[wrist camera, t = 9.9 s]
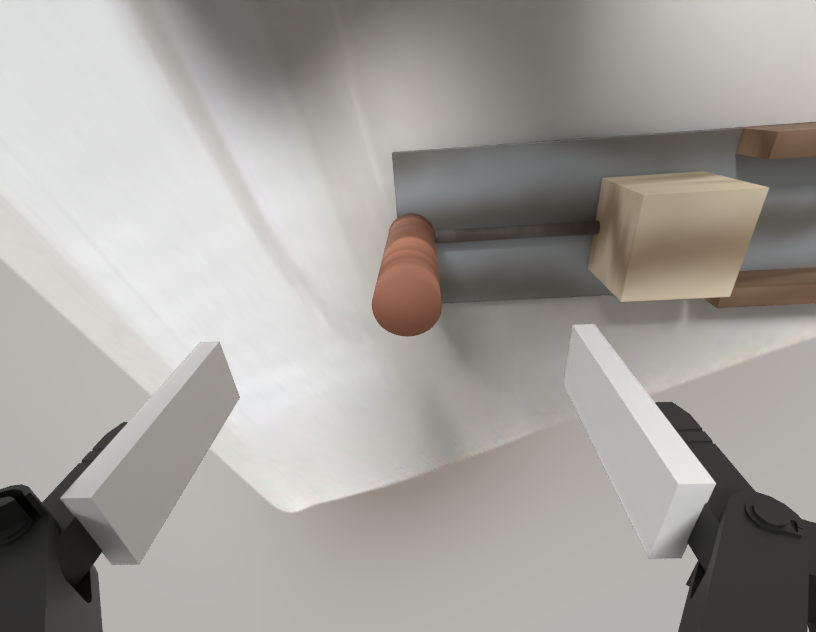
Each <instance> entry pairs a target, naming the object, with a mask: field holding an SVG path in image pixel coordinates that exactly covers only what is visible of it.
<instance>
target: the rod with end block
mask: <svg viewBox="0 0 816 632" xmlns="http://www.w3.org/2000/svg"><path fill="white" fill-rule="evenodd" d="M768 190H769V187H766V186H761V185H757V184H753V183H749V182H745V181H741V180H737V179H733V178H729V177H725V176H721V175H717V174H713V173H709V172H705V171H698V172H683V173H668V174H653V175H637V176H622V177H607V178H602V183H601V189H600V196H599V202H598V208H597V214H596V220H595V221H584V222H567V223H550V224H533V225H516V226H499V227H482V228H465V229H448V230H436V231H434V229H433V226H432V224H431V223H430V222H429V221H428V220H427V219H426V218H425V217H423V216H421V215H419V214H414V213H409V214H404V215H402V216H400V217H398V218H397V219H396V220H395V221H394V222H393V224H392V225H391V227H390V231H389V235H388V239H387V243H386V247H385V251H384V255H383V259H382V263H381V267H380V271H379V275H378V279H377V283H376V287H375V291H374V295H373V299H372V310H373V314H374V316H375V318H376V320H377V322H378V323H379V324H380V325H381V326H382V327H383V328H384V329H386V330H387V331H389V332H391V333H393V334H396V335H400V336H415V335H419V334H422V333H424V332H426V331H428V330H429V329H430V328H432V327H433V326H434V325H435V323H436V322H437V321H438V319H439V317H440V314H441V309H442V303H441V293H440V283H439V273H438V263H437V253H436V243H453V242H471V241H488V240H506V239H523V238H541V237H558V236H576V235H593V239H592V245H591V251H590V258H589V264H588V269H589V270H590V271H591V272H592V273H593V274H594V275H595V276H596V277H597V278H598V279H599V280H600V281H601V282H602V283H603V284H604V285H605V286H606V287H607V288H608V289H609V290H610V291H611V292H612V293H613V294H614V295H615V296H616V297H617V298H618V299H619V300H620V301H621V302H629V301H650V300H671V299H693V298H714V297H730V295H731V293H732V290H733V287H734V284H735V281H736V279H737V276H738V273H739V270H740V268H741V265H742V262H743V259H744V257H745V254H746V251H747V248H748V245H749V243H750V240H751V237H752V234H753V232H754V229H755V226H756V223H757V220H758V218H759V215H760V212H761V209H762V207H763V204H764V201H765V198H766V196H767V193H768Z"/></svg>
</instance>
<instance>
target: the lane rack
mask: <svg viewBox="0 0 816 632" xmlns="http://www.w3.org/2000/svg"><path fill="white" fill-rule="evenodd" d="M392 159H393V171H394V183H395V195H396V207H397V218H398V217H400V216H402V215H404V214H409V213H414V214H419V215H421V216H423V217H425V218H426V219H427V220H428V221H429V222H430V223H431V224H432V226H433V229H434V231H436V230H448V229H465V228H482V227H499V226H516V225H533V224H550V223H567V222H584V221H595V220H596V214H597V208H598V202H599V196H600V189H601V183H602V178H607V177H622V176H637V175H653V174H668V173H683V172H698V171H705V172H709V173H713V174H717V175H721V176H725V177H729V178H733V179H737V180H741V181H745V182H749V183H753V184H757V185H761V186H766V187H769V190H768V193H767V196H766V198H765V201H764V204H763V207H762V209H761V212H760V215H759V218H758V220H757V223H756V226H755V229H754V232H753V234H752V237H751V240H750V243H749V245H748V248H747V251H746V254H745V257H744V259H743V262H742V265H741V268H740V270H739V273H738V276H737V279H736V281H735V284H734V287H733V290H732V293H731V295H730V297H714V298H704V299H705V300H707V301H708V302H709V303H711V304H712V305H714V306H715V307H717V308H723V307H745V306H767V305H789V304H811V303H816V122H809V123H795V124H781V125H767V126H753V127H739V128H725V129H711V130H697V131H683V132H669V133H655V134H641V135H627V136H613V137H599V138H585V139H571V140H557V141H543V142H529V143H515V144H501V145H487V146H473V147H459V148H445V149H431V150H417V151H403V152H393V153H392ZM592 239H593V235H576V236H558V237H541V238H523V239H506V240H488V241H471V242H453V243H436V253H437V263H438V273H439V283H440V293H441V303H455V302H476V301H496V300H517V299H538V298H559V297H580V296H600V295H614V294H613V293H612V292H611V291H610V290H609V289H608V288H607V287H606V286H605V285H604V284H603V283H602V282H601V281H600V280H599V279H598V278H597V277H596V276H595V275H594V274H593V273H592V272H591V271H590V270H589V269H588V264H589V258H590V251H591V245H592Z"/></svg>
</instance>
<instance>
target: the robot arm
mask: <svg viewBox="0 0 816 632" xmlns="http://www.w3.org/2000/svg"><path fill="white" fill-rule="evenodd" d="M563 385H564V387H565V389H566V391H567V393H568V395H569V397H570V399H571V402H572V404H573V406H574V408H575V410H576V412H577V414H578V416H579V418H580V420H581V422H582V424H583V426H584V428H585V430H586V432H587V434H588V436H589V438H590V440H591V442H592V444H593V446H594V448H595V450H596V452H597V454H598V456H599V458H600V460H601V462H602V464H603V466H604V468H605V470H606V472H607V474H608V476H609V479H610V481H611V483H612V485H613V487H614V489H615V491H616V493H617V495H618V497H619V499H620V501H621V503H622V505H623V507H624V509H625V511H626V513H627V515H628V517H629V519H630V521H631V523H632V525H633V527H634V529H635V531H636V533H637V535H638V537H639V539H640V541H641V543H642V545H643V547H644V549H645V551H646V553H647V555H648V557H649V559H650V558H651V559H652V558H682V556H683V554H684V551H685V549H686V547H687V545H688V544H689V546H690V547H691V549H692V551H693V552H694V554H695V556H696V557H697V559H698V562H697V564H696V566H695V568H694V570H693V572H692V574H691V576H690V578H689V580H688V581H687V583H686V585H688V586H689V587H690V588H689V592H688V595H687V599H686V603H685V607H684V611H683V615H682V619H681V623H680V626H679V631H678V632H807V625H808V628H809V632H816V523H814V522H809V521H806V520H803V519H801V518H800V517H799V516H798V515H797V514H796V513H795V512H794V511H792V510H791V509H790V508H789V507H788V506H786V505H785V504H783V503H781V502H779V501H778V500H776V499H774V498H772V497H770V496H767V495H764V494H761V493H758V492H756V491H755V490H754V489H752V487H751V486H750V485H749V484H748V482H747V481H746V480H745V479H744V478H743V477H742V475H741V474H740V473H739V472H738V470H737V469H736V468H735V467H734V466H733V465H732V463H731V462H730V461H729V460H728V459H727V457H726V456H725V455H724V454H723V453H722V452H721V451H720V449H719V448H718V447H717V446H716V444H713V443H712V440H711V439H710V437H709V436H708V435H707V434H706V433H705V432H703V431H702V428H701V427H700V426H699V424H698V423H697V422H696V421H695V420H694V419H693V417H692V416H691V415H690V414H689V413H687V412H686V411H684V410H683V409H682V408H680V407H679V406H677V405H676V404H674V403H673V402H656V403H654V401H653V400H652V399H651V397H650V396H649V395H648V393H647V392H646V391H645V389H644V388H643V387H642V386H641V384H640V383H639V382H638V380H637V379H636V378H635V376H634V375H633V374H632V372H631V371H630V370H629V368H628V367H627V366H626V365H625V363H624V362H623V361H622V359H621V358H620V357H619V355H618V354H617V353H616V351H615V350H614V349H613V348H612V346H611V345H610V344H609V342H608V341H607V340H606V338H605V337H604V336H603V334H602V333H601V332H600V330H599V329H598V328H597V327H596V325H595V324H579V325H572V332H571V338H570V345H569V351H568V358H567V364H566V371H565V378H564V384H563ZM239 398H240V396H239V394H238V391H237V388H236V386H235V383H234V380H233V377H232V375H231V372H230V369H229V366H228V364H227V361H226V358H225V356H224V353H223V350H222V347H221V345H220V342H200V343H199V344H198V345H197V346H196V347H195V349H194V350H193V351H192V352H191V353H190V354H189V355H188V356H187V357H186V359H185V360H184V361H183V362H182V363H181V364H180V365H179V366H178V367H177V369H176V370H175V371H174V372H173V373H172V374H171V375H170V376H169V377H168V379H167V380H166V381H165V382H164V383H163V384H162V385H161V386H160V387H159V389H158V390H157V391H156V392H155V393H154V394H153V395H152V396H151V397H150V399H149V400H148V401H147V402H146V403H145V404H144V405H143V406H142V408H141V409H140V410H139V411H138V412H137V413H136V414H135V415H134V416H133V418H132V419H131V420H130V421H129V422H123V423H122V424H120V425H119V426H117V427H116V428H114V429H113V430H111V431H110V432H109V433H107V434H106V435H105V436H104V437H103V438H102V439H101V440H100V441H99V442H98V443H97V444H96V446H95V447H94V448H93V451H90V452H89V453H88V454H87V455H86V456H85V457H84V458H83V460H82V463H79V464H78V465H77V466H76V467H75V468H74V469H73V470H72V471H71V472H70V473H69V474H68V476H67V477H66V478H65V479H64V480H63V481H62V482H61V483H60V484H59V485H58V486H57V488H55V489H54V491H53V492H52V493H51V494H50V495H49V496H48V497H47V498H46V499H45V500H44V501H43V502H41V501H40V500H39V499H38V498H37V497H36V495H35V494H34V493H33V492H32V490H31V489H30V488H29V487H28V486H24V485H14V486H9V487H6V488H3V489H1V490H0V632H103V631H102V619H101V606H100V593H99V581H98V572H97V570H96V568H95V567H94V565H93V564H94V562H95V561H96V560H97V558H98V557H99V555H100V554H101V552H102V553H103V554H104V555H105V557H106V558H107V559H108V560H109V562H110V563H111V564H112V565H126V564H127V565H129V564H130V565H132V564H133V565H134V564H140V562H141V561H142V559H143V557H144V556H145V554H146V552H147V551H148V549H149V547H150V546H151V544H152V542H153V541H154V539H155V537H156V536H157V534H158V532H159V531H160V529H161V528H162V526H163V524H164V522H165V521H166V519H167V518H168V516H169V514H170V513H171V511H172V509H173V507H174V506H175V504H176V503H177V501H178V499H179V498H180V496H181V494H182V493H183V491H184V489H185V488H186V486H187V484H188V483H189V481H190V479H191V478H192V476H193V474H194V473H195V471H196V469H197V468H198V466H199V464H200V463H201V461H202V459H203V458H204V456H205V454H206V453H207V451H208V449H209V448H210V446H211V444H212V443H213V441H214V440H215V438H216V436H217V435H218V433H219V431H220V430H221V428H222V426H223V425H224V423H225V421H226V420H227V418H228V416H229V415H230V413H231V411H232V410H233V408H234V406H235V405H236V403H237V401H238V400H239Z"/></svg>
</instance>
